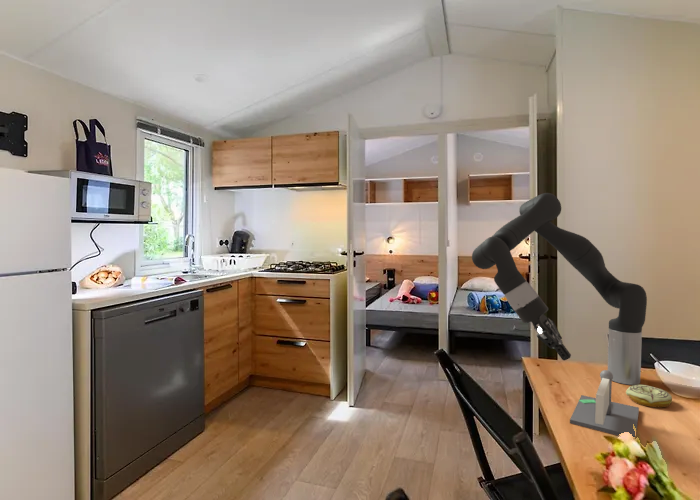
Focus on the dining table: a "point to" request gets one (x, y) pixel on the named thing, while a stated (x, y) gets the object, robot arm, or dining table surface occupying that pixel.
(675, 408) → the dining table surface
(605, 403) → the grey upright panel
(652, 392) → the decorated donut
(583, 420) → the dial plate
